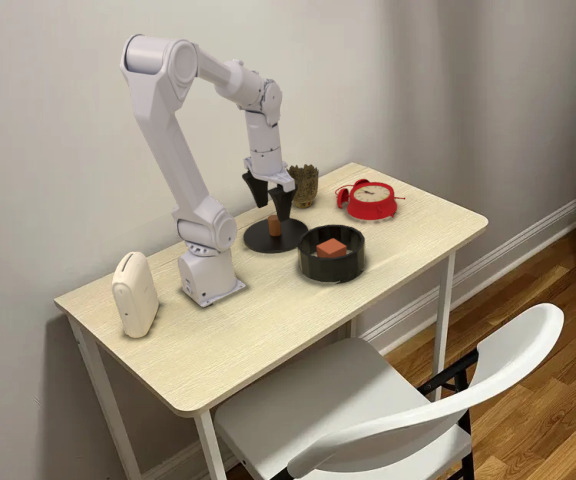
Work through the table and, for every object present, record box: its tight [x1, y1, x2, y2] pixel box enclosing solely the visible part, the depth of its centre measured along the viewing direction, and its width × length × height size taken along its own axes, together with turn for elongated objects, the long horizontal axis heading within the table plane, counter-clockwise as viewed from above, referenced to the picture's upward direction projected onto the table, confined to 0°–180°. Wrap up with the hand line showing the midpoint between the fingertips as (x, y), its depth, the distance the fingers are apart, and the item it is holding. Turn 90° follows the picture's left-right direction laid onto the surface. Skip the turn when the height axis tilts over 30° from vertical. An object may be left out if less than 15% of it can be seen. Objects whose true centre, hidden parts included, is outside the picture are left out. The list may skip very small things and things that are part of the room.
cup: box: [285, 163, 320, 209], centre depth 144 cm, size 8×7×8 cm
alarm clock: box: [334, 178, 406, 221], centre depth 142 cm, size 10×6×15 cm
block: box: [316, 238, 348, 258], centre depth 127 cm, size 4×4×4 cm
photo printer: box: [110, 251, 160, 339], centre depth 117 cm, size 10×4×12 cm, turn 172°
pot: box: [296, 224, 366, 285], centre depth 127 cm, size 12×12×5 cm
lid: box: [242, 213, 309, 254], centre depth 136 cm, size 13×13×5 cm
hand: (273, 212), depth 134 cm, fingers open, 7 cm apart
